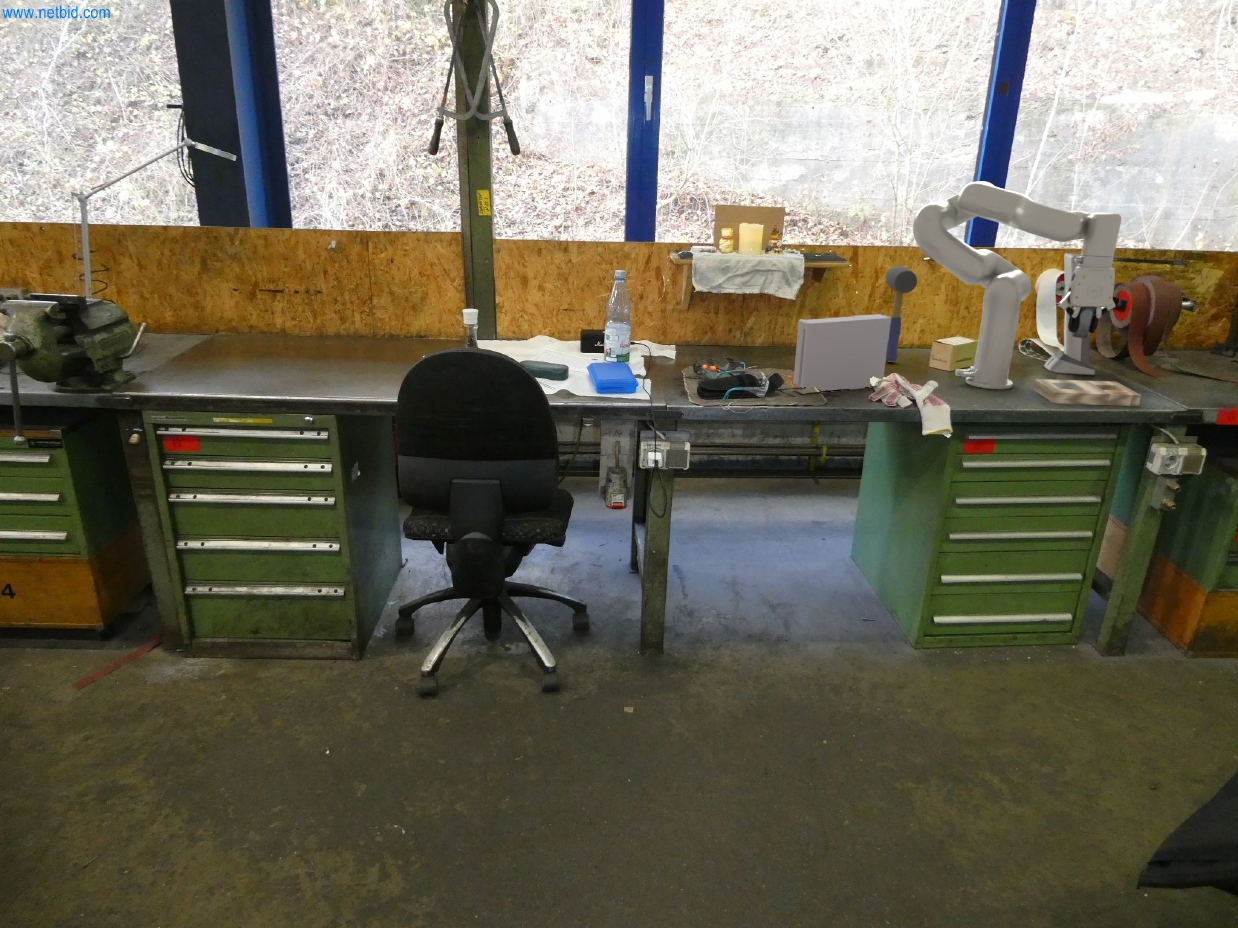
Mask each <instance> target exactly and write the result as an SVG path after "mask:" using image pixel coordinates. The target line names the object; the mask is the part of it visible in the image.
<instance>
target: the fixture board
mask: <svg viewBox="0 0 1238 928" xmlns="http://www.w3.org/2000/svg"><path fill="white" fill-rule="evenodd" d="M1032 390H1033V391H1035V392H1036V393H1037V394H1039V395H1041V396H1042V397H1043V398H1044V399H1046V400H1047V399H1048V400H1047V401H1048V402H1050V403H1052V404H1068V405H1069V404H1070V405H1071V404H1072V405H1093V406H1094V405H1095V406H1097V405H1098V406H1122V407H1123V406H1125V407H1126V406H1127V407H1139V406H1140V401H1141V398H1142V394H1140V393H1139V392H1138V393H1137V392H1136V391H1134V390H1133V389H1131V388H1129V387H1128V386H1125V385H1123V384H1122V383H1119V382H1118V381H1108V380H1106V381H1105V380H1077V379H1076V380H1074V379H1050V378H1049V379H1046V378H1034V382H1033V387H1032Z"/></svg>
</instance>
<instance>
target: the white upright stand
mask: <svg viewBox="0 0 1238 928" xmlns="http://www.w3.org/2000/svg"><path fill="white" fill-rule="evenodd" d="M1080 255H1081V254H1077V253H1071V252H1070V253H1069V252H1066V253H1064V257H1063V258H1064V259H1063V261H1064V290H1063V293H1062V295H1061V298H1062V299H1063V298H1064V297H1065V296H1066V295H1067V290H1068V287H1069V283H1070V280H1071V277H1072V275H1073V272H1074V270H1075V268H1076V267H1078V266H1079V265H1078V263H1075V262H1074V259H1075V258H1076V257H1080ZM1062 299H1061V300H1062ZM1067 305H1068V306H1069V307H1071V306H1072V304H1068V303H1067ZM1069 318H1070V316H1069V315H1068V313H1067V312H1066V311H1065V310H1064V321H1063V322H1064V323H1063V350H1058V351H1057V352H1055V353H1054V354H1053V355H1051V356H1050V357H1049V358H1048V359H1047V360H1046V361H1045V364H1043V367H1044V368H1045V369H1046V370H1047V371H1049V372H1052V373H1055V374H1062V375H1064V374H1066V375H1079V376H1080V375H1081V376H1094V375H1096V370H1095V369H1096V368H1095V367H1094V366H1093V365H1091V364H1090V356H1091V355H1090V354H1091V353H1090V351H1091V333H1089V337H1088V338H1077V337H1073V336H1072V332H1070V331H1069V329H1068V323H1069Z"/></svg>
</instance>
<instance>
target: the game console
mask: <svg viewBox="0 0 1238 928" xmlns="http://www.w3.org/2000/svg"><path fill="white" fill-rule="evenodd" d="M891 317H892V316H886V315H884V314H879V313H876V314H865V315H863V314H862V315H851V316H844V317H843V316H841V317H827V318H826V317H825V318H814V319H811V318H810V319H799V320H798V325H797V333H796V337H797V338H796V345H795V346H796V349H795V360H794V371H793V372H794V373H793V374H794V375H793V381H792V384H793V383H794V384H797V385H798V386H800V387H802V388H804V387H809V386H814V387H817V389H819V390H821V391H825V390H837V389H850V390H858V389H866V388H865V387H869V388H871V387H870V378H872V377H873V376H874V377H876V378H879V379H882V380H883V379H884V377H885V368H886V363H887V362H886V354H887V347H888V339H889V331H890V323H891Z"/></svg>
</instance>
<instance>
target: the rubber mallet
mask: <svg viewBox="0 0 1238 928" xmlns="http://www.w3.org/2000/svg"><path fill="white" fill-rule="evenodd" d="M885 282H886V284H887V285H888V286H889V287H890V288H891V289H892V290H894V291H895V292H894V299H893V305H892V312H891V316H890V317H891V323H890V331H889V339H888V347H887V354H886V361H895V362H896V361H897V359H898V357H899V356H898V347H899V339H900V336H901V330H902V316H901V313H902V307H903V306H902V305H903V300H904V299H903V298H904V294H907V293H910V292H912V291H913V290H914V289H915V288H916V287H917V284H918V276H917V275H916V274H915V272H913V271H912V270H911V269H909V268H907V267H904V266H901V265H897V266H893V267H890V268H889V269H888V271H887V272H886V275H885Z"/></svg>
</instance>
